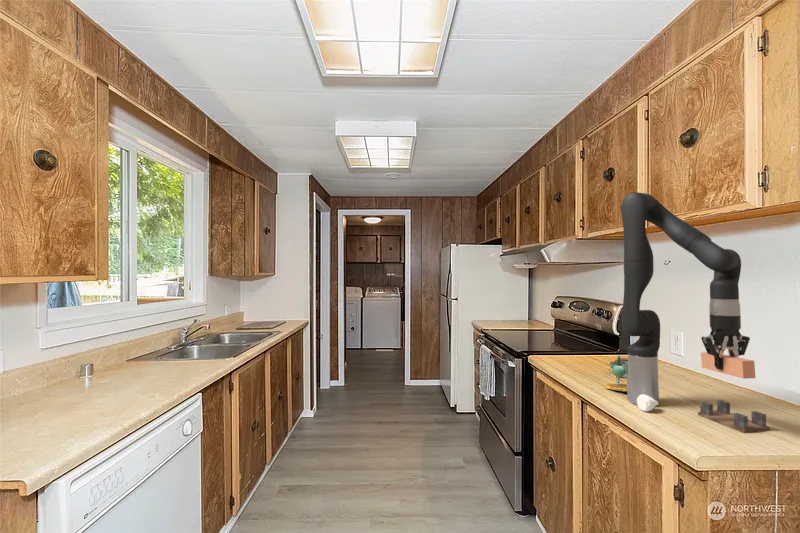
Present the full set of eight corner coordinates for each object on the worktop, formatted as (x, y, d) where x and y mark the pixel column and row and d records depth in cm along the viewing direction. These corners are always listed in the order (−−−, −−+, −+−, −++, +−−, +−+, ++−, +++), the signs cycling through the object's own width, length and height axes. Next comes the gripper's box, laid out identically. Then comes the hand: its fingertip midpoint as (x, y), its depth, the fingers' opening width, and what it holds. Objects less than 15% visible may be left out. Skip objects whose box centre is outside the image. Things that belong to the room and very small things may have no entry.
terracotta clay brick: (743, 378, 117) (742, 361, 117) (701, 367, 133) (700, 352, 133) (755, 378, 117) (754, 360, 117) (712, 367, 133) (711, 351, 133)
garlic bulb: (663, 412, 136) (663, 396, 136) (648, 413, 135) (647, 397, 135) (650, 406, 142) (650, 391, 142) (635, 408, 140) (635, 392, 140)
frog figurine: (618, 398, 152) (614, 357, 154) (599, 389, 170) (596, 353, 172) (645, 397, 152) (641, 357, 153) (623, 388, 169) (619, 352, 171)
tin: (648, 376, 179) (648, 357, 179) (651, 378, 176) (651, 359, 176) (612, 376, 182) (611, 357, 182) (614, 378, 179) (614, 359, 179)
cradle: (697, 415, 133) (697, 401, 133) (721, 412, 135) (720, 399, 135) (744, 433, 118) (743, 417, 118) (769, 430, 120) (769, 414, 120)
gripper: (711, 315, 122) (713, 372, 122) (758, 314, 122) (759, 371, 122) (693, 312, 129) (694, 366, 129) (737, 311, 129) (738, 365, 129)
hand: (726, 368), depth 125 cm, fingers closed on terracotta clay brick, 3 cm apart
